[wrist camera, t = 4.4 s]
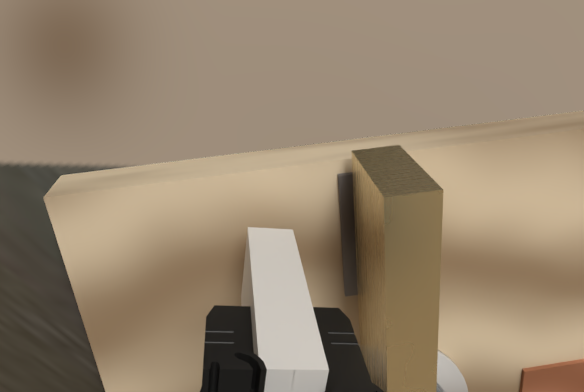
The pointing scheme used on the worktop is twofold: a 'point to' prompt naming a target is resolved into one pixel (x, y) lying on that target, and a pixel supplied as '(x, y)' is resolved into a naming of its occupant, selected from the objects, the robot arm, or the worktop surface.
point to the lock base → (337, 250)
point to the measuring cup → (397, 268)
